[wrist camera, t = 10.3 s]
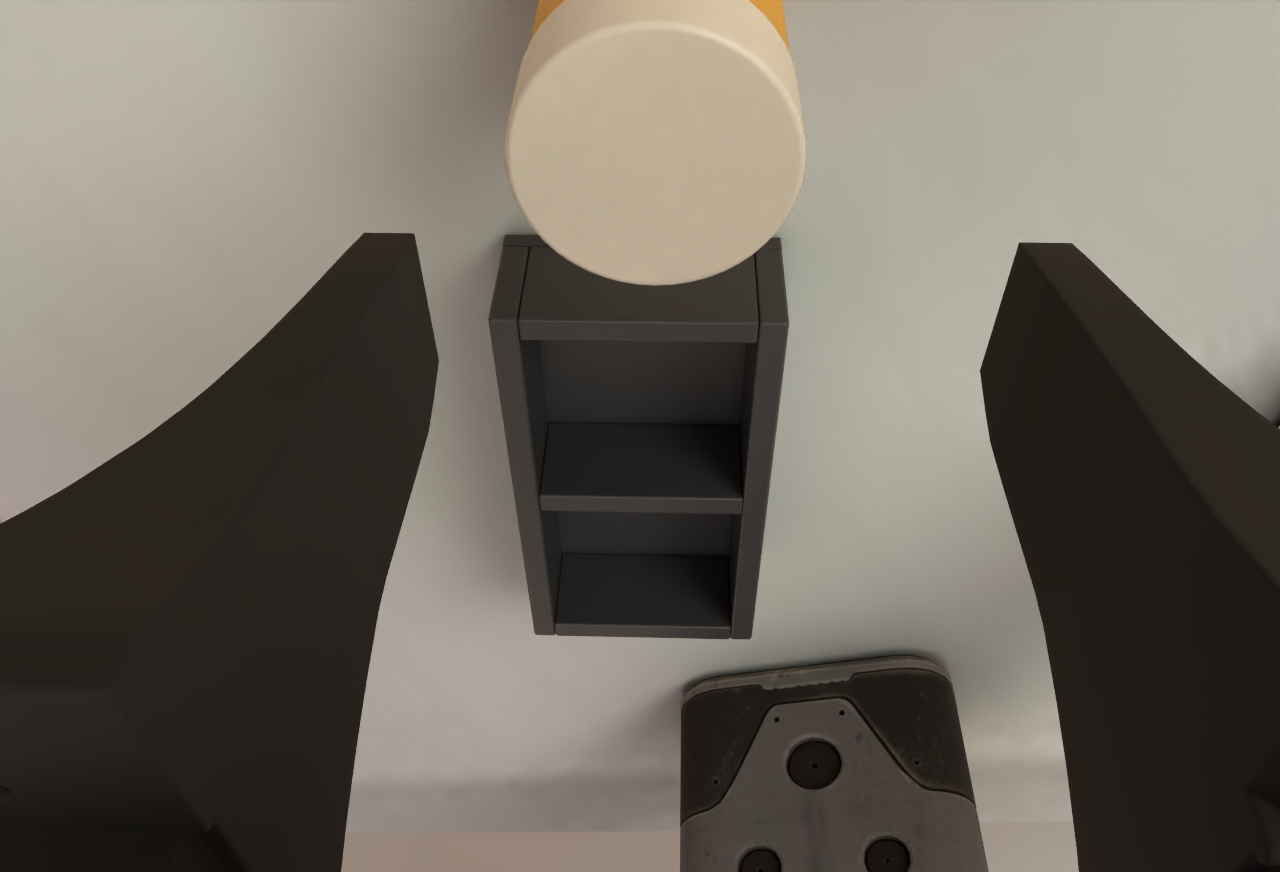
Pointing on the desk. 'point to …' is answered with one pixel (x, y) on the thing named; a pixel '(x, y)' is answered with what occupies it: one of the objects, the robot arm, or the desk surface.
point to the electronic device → (827, 772)
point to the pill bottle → (656, 134)
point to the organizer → (639, 440)
